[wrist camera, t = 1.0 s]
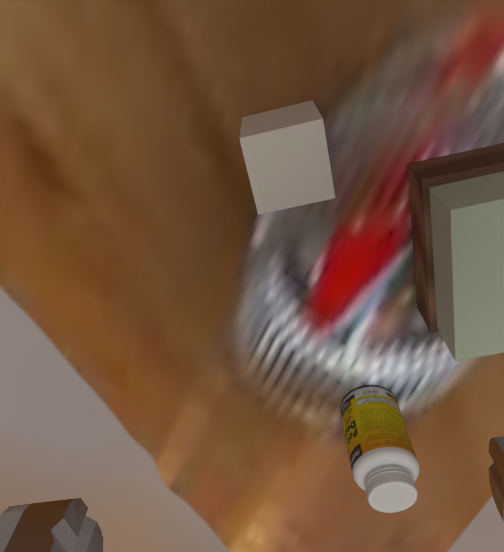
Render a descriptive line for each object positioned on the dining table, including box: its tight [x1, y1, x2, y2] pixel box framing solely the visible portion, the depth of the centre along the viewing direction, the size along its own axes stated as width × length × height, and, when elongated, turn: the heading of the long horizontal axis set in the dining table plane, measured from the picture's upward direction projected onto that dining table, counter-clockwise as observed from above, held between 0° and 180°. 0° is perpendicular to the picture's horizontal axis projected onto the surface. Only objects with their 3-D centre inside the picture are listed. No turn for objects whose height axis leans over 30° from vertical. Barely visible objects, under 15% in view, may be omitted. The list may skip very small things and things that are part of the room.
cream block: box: [239, 100, 335, 215], centre depth 32 cm, size 5×5×6 cm
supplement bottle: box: [341, 386, 419, 513], centre depth 42 cm, size 6×6×10 cm
